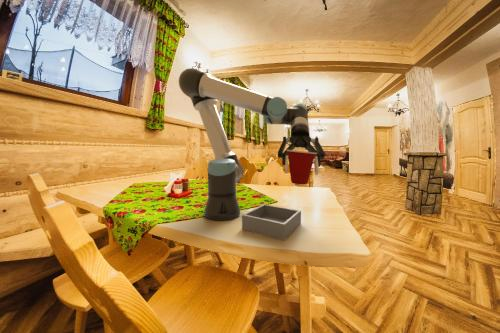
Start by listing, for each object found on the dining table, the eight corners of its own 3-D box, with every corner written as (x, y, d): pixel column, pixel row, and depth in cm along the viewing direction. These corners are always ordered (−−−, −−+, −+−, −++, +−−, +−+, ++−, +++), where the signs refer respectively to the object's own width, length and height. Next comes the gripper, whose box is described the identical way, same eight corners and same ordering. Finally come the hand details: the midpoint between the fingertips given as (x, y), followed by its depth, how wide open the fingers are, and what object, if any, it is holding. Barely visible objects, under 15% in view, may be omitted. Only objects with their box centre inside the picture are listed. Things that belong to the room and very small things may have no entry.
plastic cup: (318, 186, 62) (320, 150, 61) (285, 184, 64) (286, 149, 63) (313, 181, 73) (315, 150, 71) (284, 179, 74) (286, 149, 73)
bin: (242, 229, 64) (241, 214, 64) (263, 216, 78) (263, 204, 77) (284, 240, 56) (284, 224, 56) (300, 223, 69) (301, 210, 69)
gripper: (325, 137, 80) (332, 180, 66) (273, 136, 83) (269, 176, 69) (329, 123, 74) (338, 166, 60) (273, 123, 78) (269, 163, 64)
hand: (301, 171), depth 65 cm, fingers closed on plastic cup, 10 cm apart
